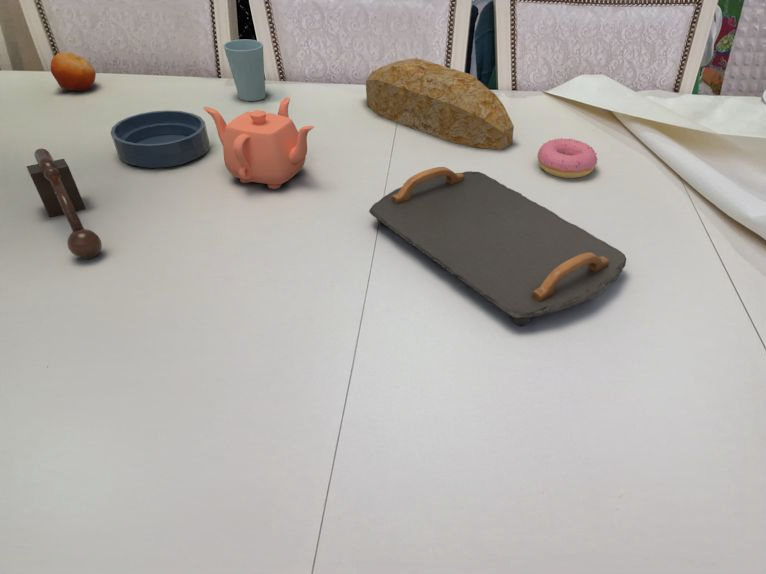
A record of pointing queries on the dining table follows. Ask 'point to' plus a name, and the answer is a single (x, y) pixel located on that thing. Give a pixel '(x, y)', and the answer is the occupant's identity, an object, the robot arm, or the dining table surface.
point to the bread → (440, 103)
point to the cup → (247, 68)
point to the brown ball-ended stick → (69, 210)
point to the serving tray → (500, 242)
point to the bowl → (160, 138)
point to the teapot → (262, 145)
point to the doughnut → (567, 158)
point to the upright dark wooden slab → (48, 192)
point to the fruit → (72, 72)
